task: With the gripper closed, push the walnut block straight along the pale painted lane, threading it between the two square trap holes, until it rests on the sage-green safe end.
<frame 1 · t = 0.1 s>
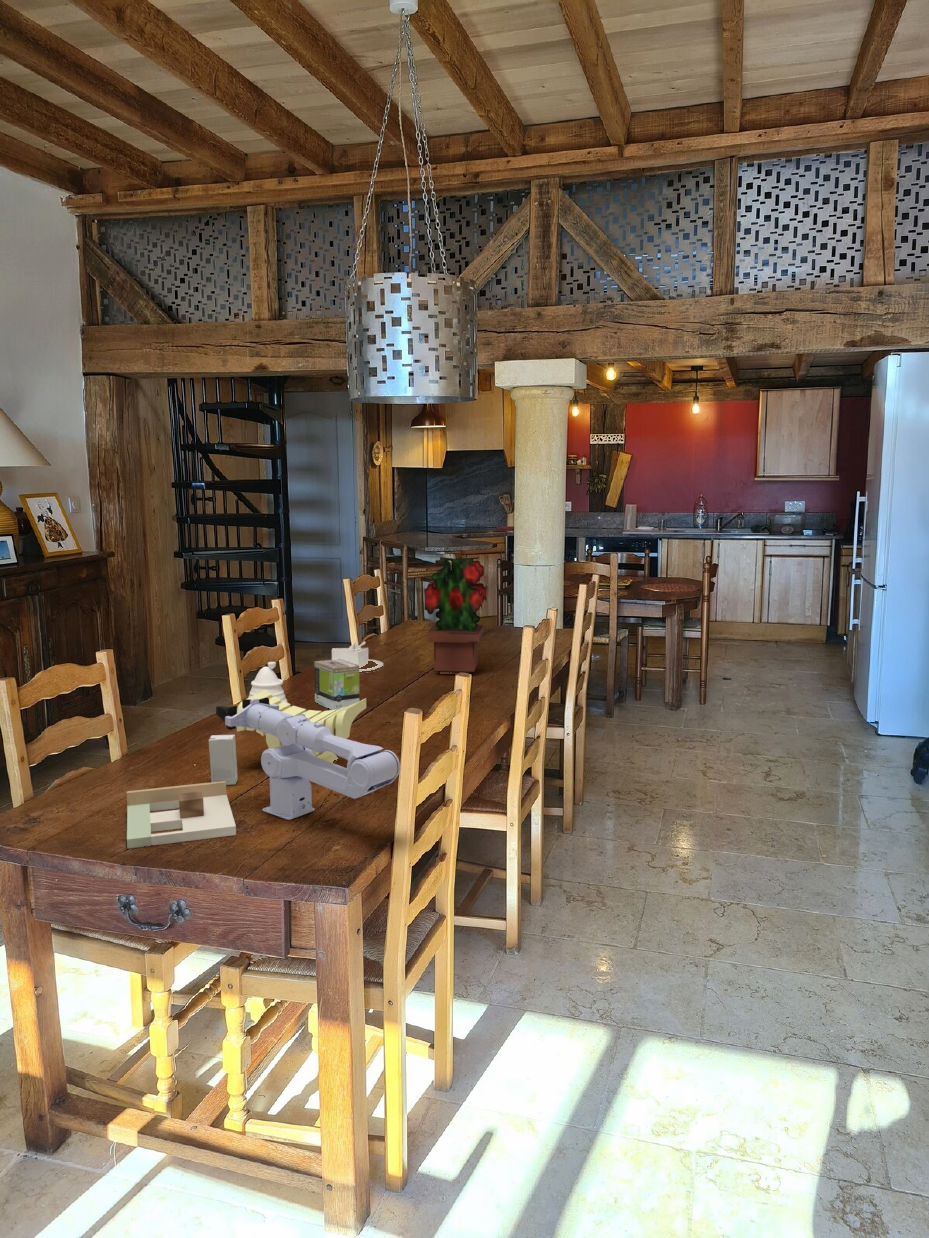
hand: (230, 706, 218), 22 cm above the table, tool horizontal, fingers open, 7 cm apart
walnut block: (191, 813, 202), point 2 cm above the table, touching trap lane
white block with ring: (352, 668, 369), on the table
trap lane: (180, 823, 202), on the table
skincare box: (224, 783, 229), on the table
tea box: (337, 706, 307), on the table
honey pot: (267, 718, 291), on the table
slatted curved stool: (303, 766, 243), on the table
potted plant: (456, 672, 360), on the table
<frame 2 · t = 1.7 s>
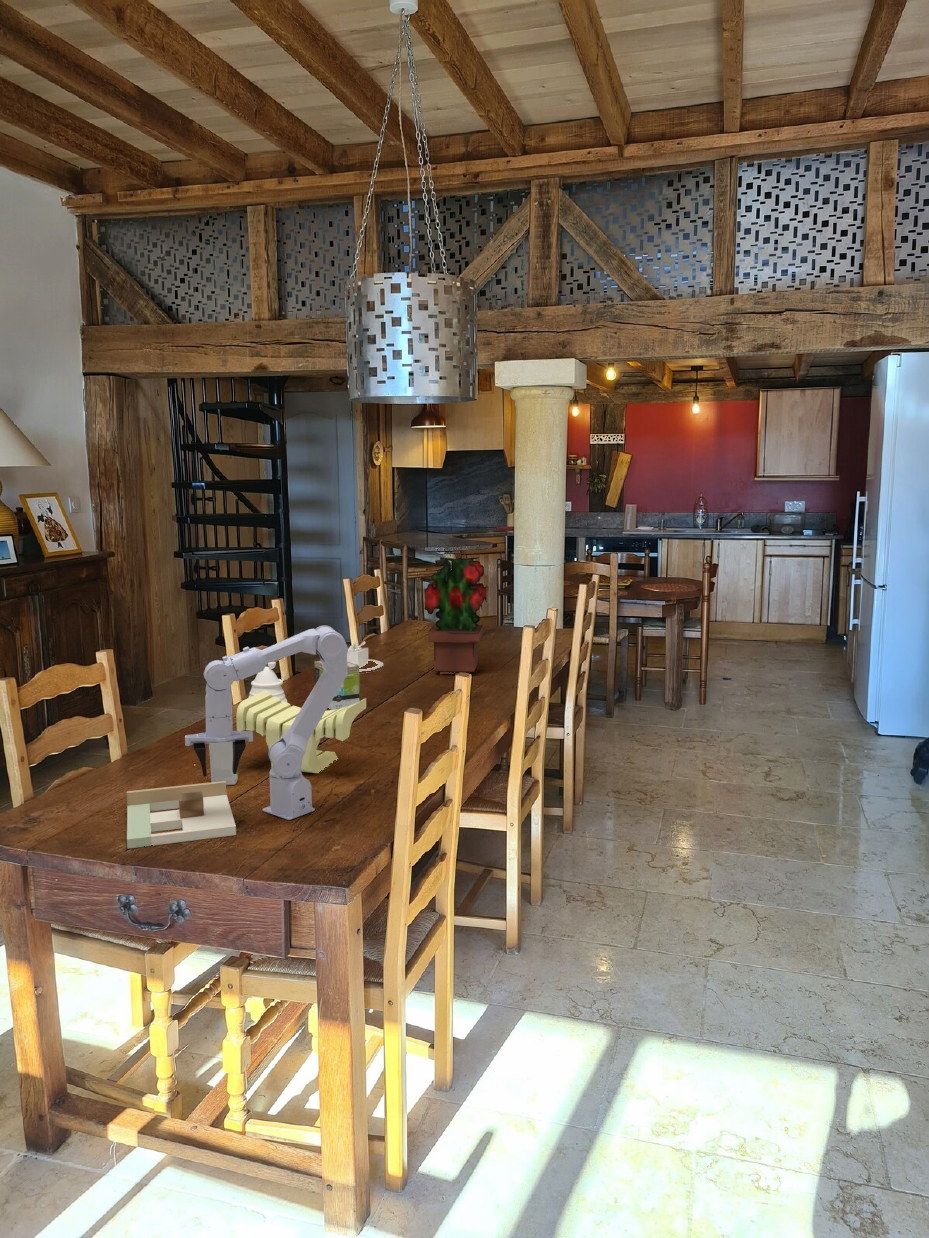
hand: (219, 773, 203), 10 cm above the table, tool pointing down, fingers open, 6 cm apart
nothing on the table moved.
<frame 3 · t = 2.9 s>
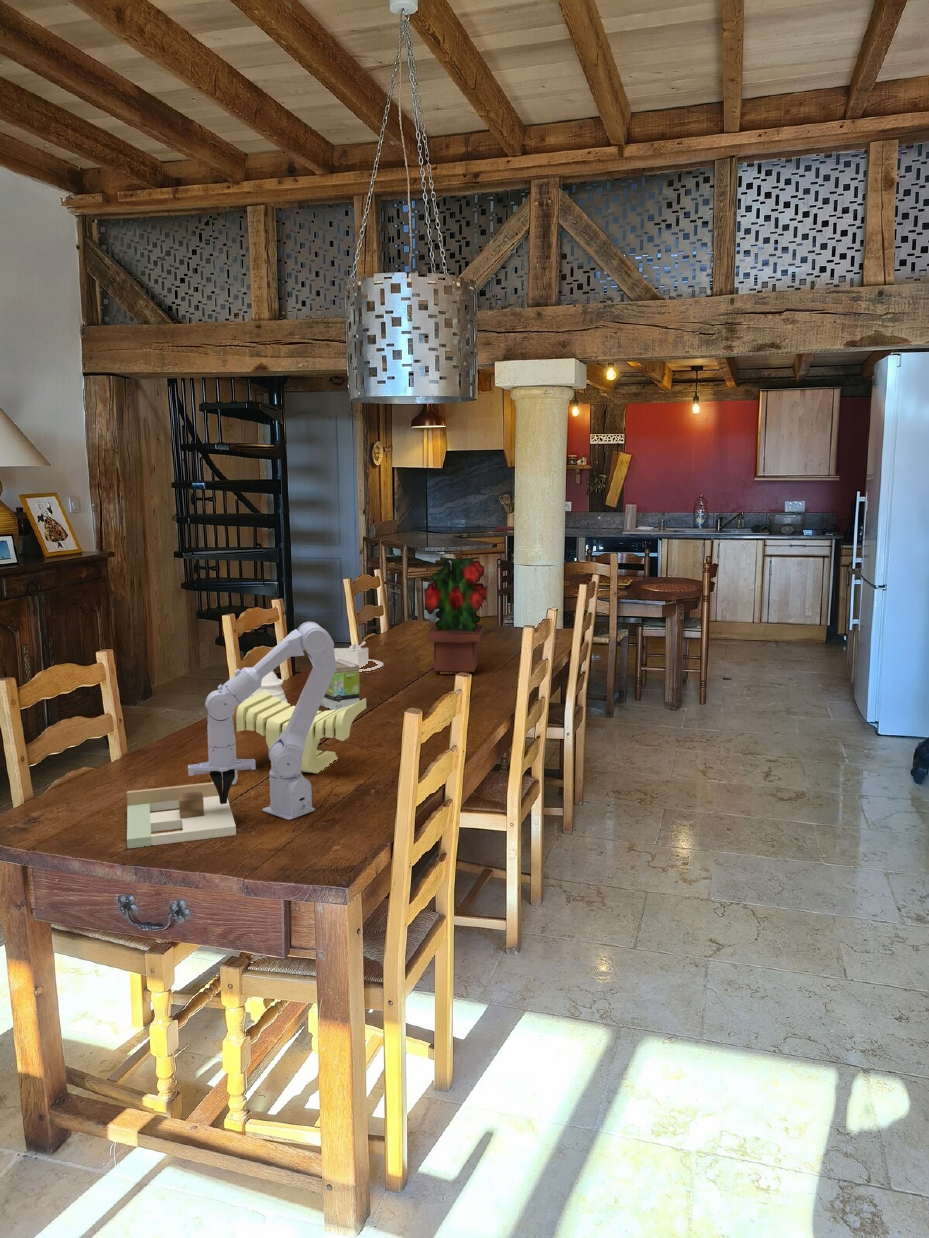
hand: (223, 802, 205), 4 cm above the table, tool pointing down, fingers closed
nothing on the table moved.
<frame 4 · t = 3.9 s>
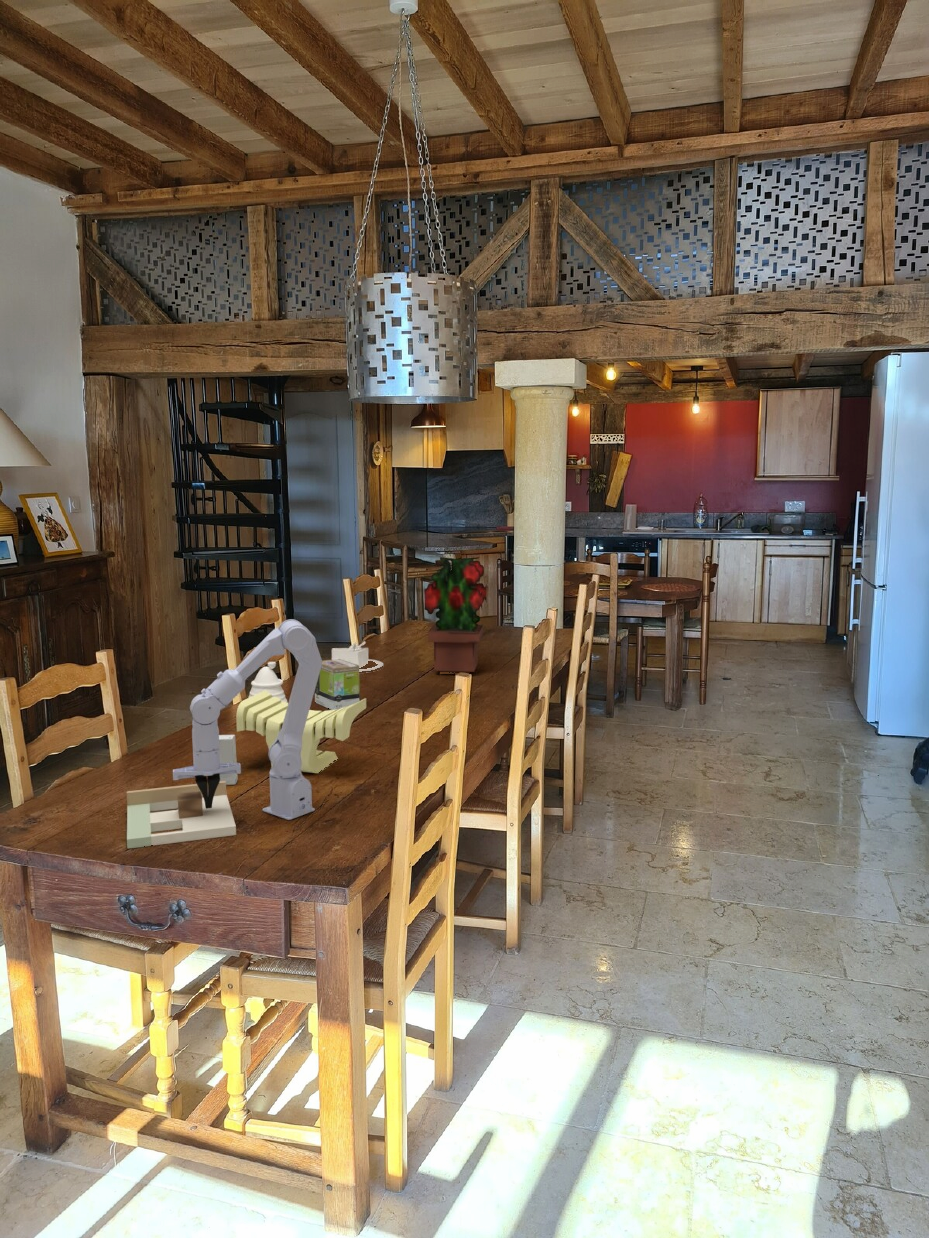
hand: (208, 806, 204), 3 cm above the table, tool pointing down, fingers closed
walnut block: (190, 813, 202), point 2 cm above the table, touching gripper
everything else where it was.
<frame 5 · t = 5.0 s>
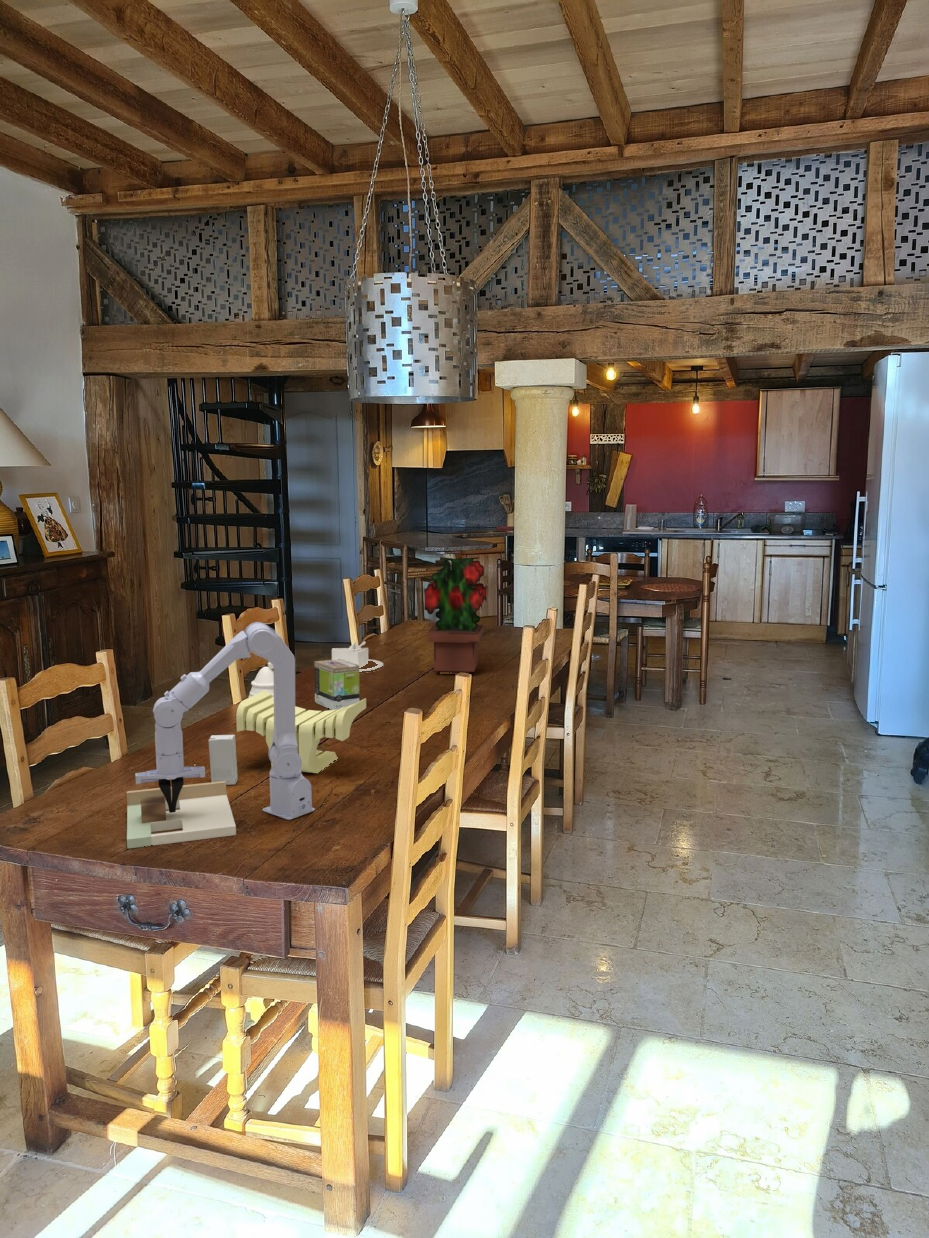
hand: (172, 810, 201), 3 cm above the table, tool pointing down, fingers closed
walnut block: (153, 817, 200), point 2 cm above the table, touching gripper, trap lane
everything else where it was.
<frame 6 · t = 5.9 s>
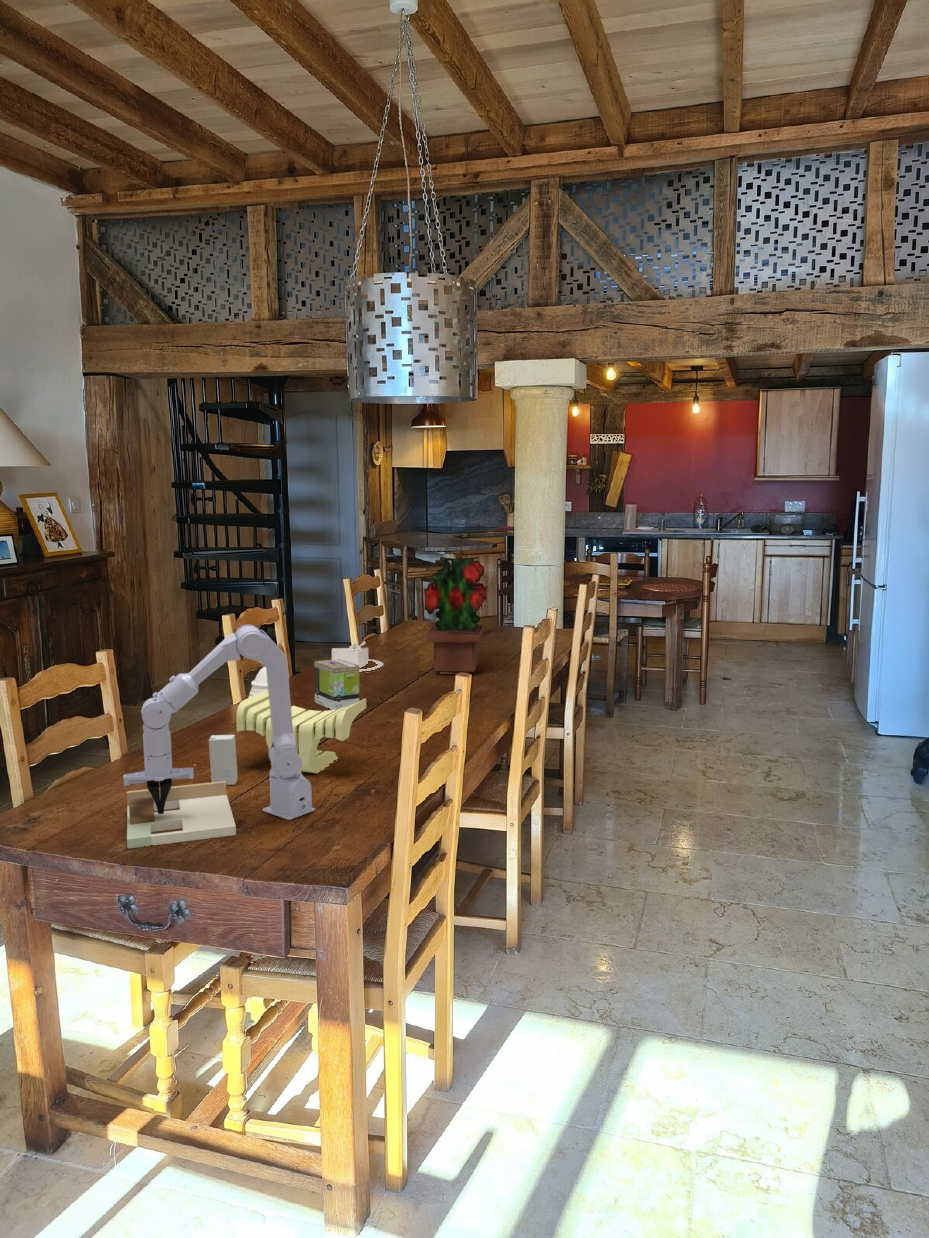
hand: (160, 812, 200), 3 cm above the table, tool pointing down, fingers closed
walnut block: (142, 819, 199), point 2 cm above the table, touching gripper, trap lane
everything else where it was.
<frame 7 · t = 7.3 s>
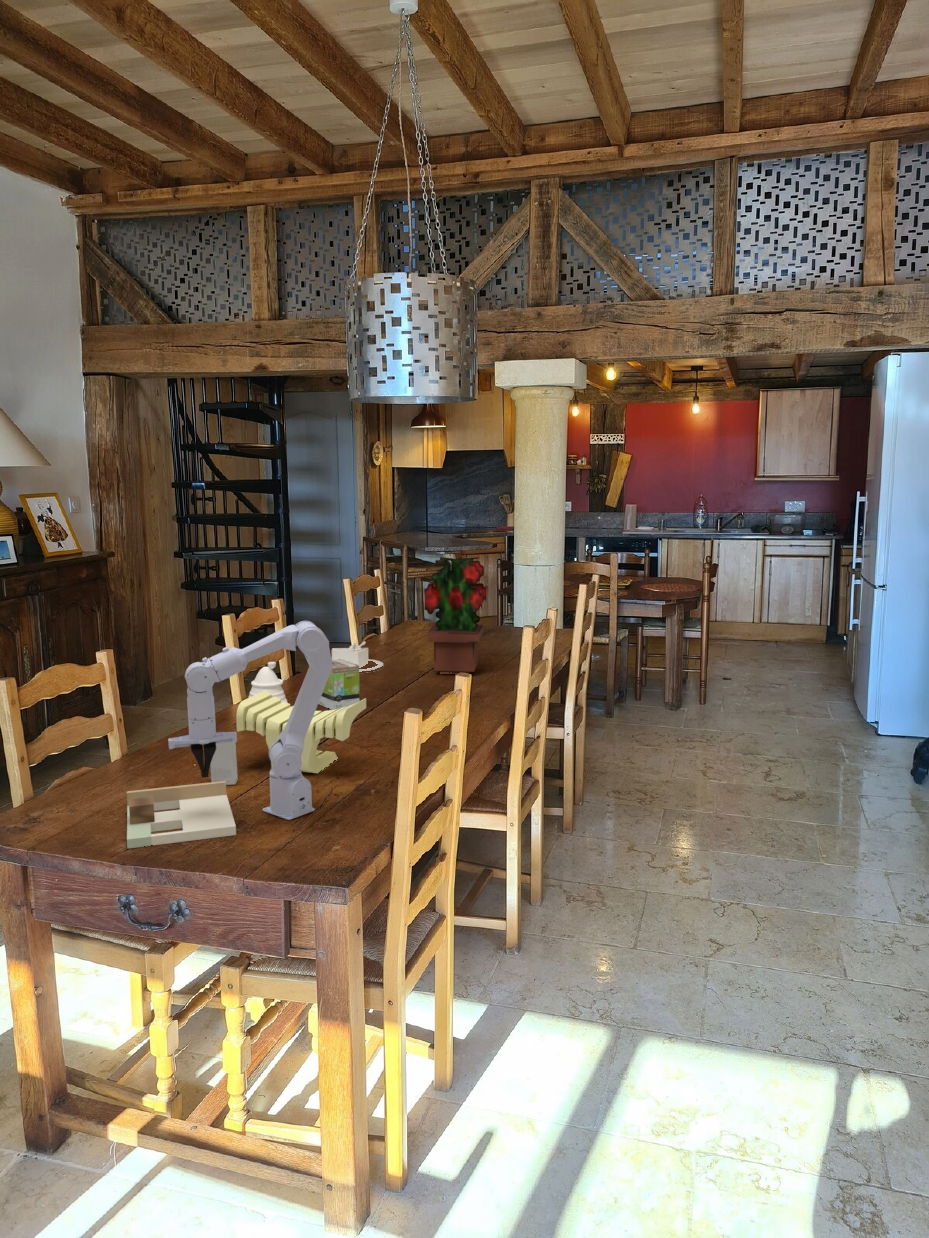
hand: (204, 775, 202), 10 cm above the table, tool pointing down, fingers closed
walnut block: (142, 819, 199), point 2 cm above the table, touching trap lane
everything else where it was.
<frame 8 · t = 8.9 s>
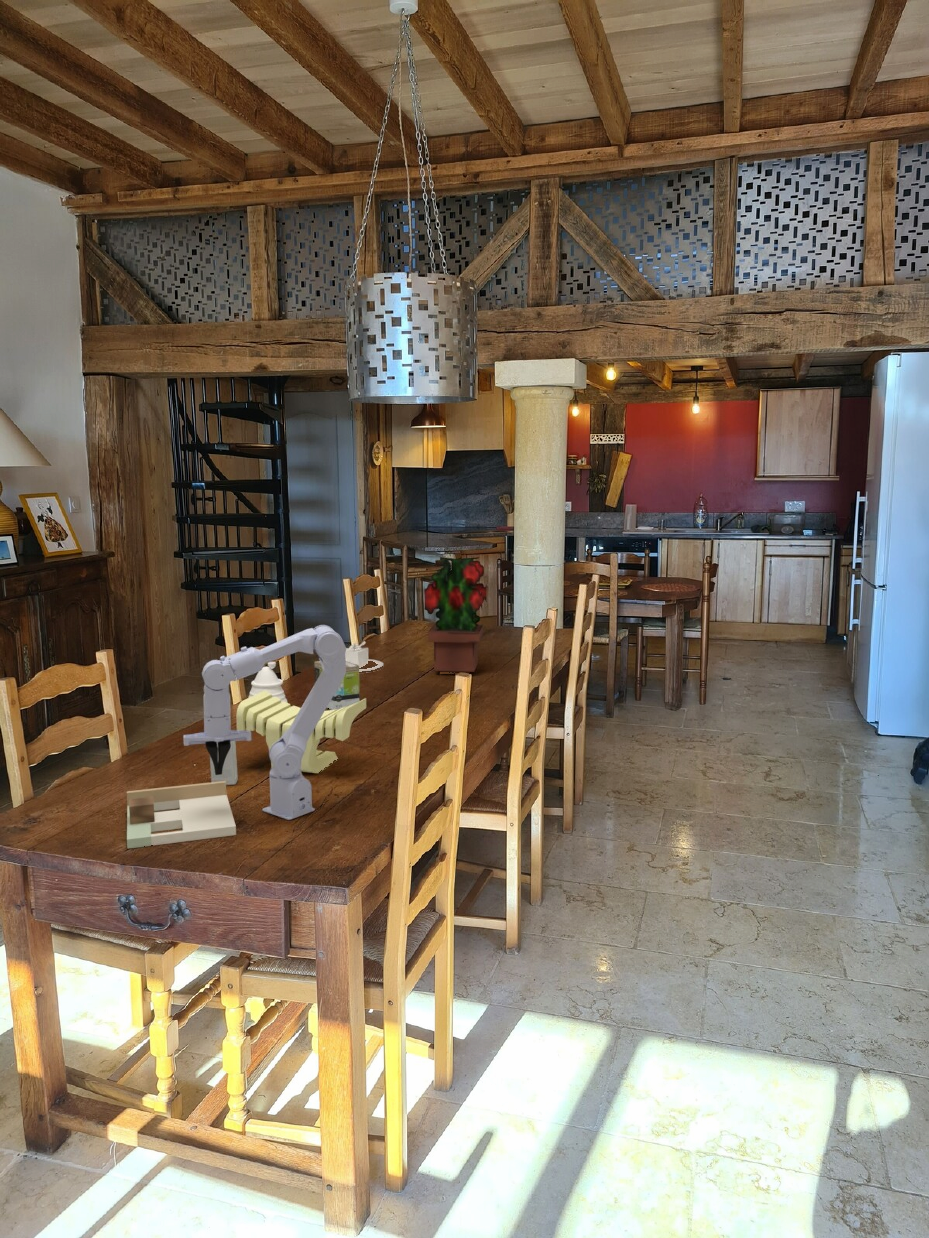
hand: (218, 773, 204), 10 cm above the table, tool pointing down, fingers closed
nothing on the table moved.
at the end: walnut block 0.2 cm from the target spot on the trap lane, point 2.0 cm above the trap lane's base; walnut block moved 10.4 cm from its start; walnut block tilted 0° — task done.
